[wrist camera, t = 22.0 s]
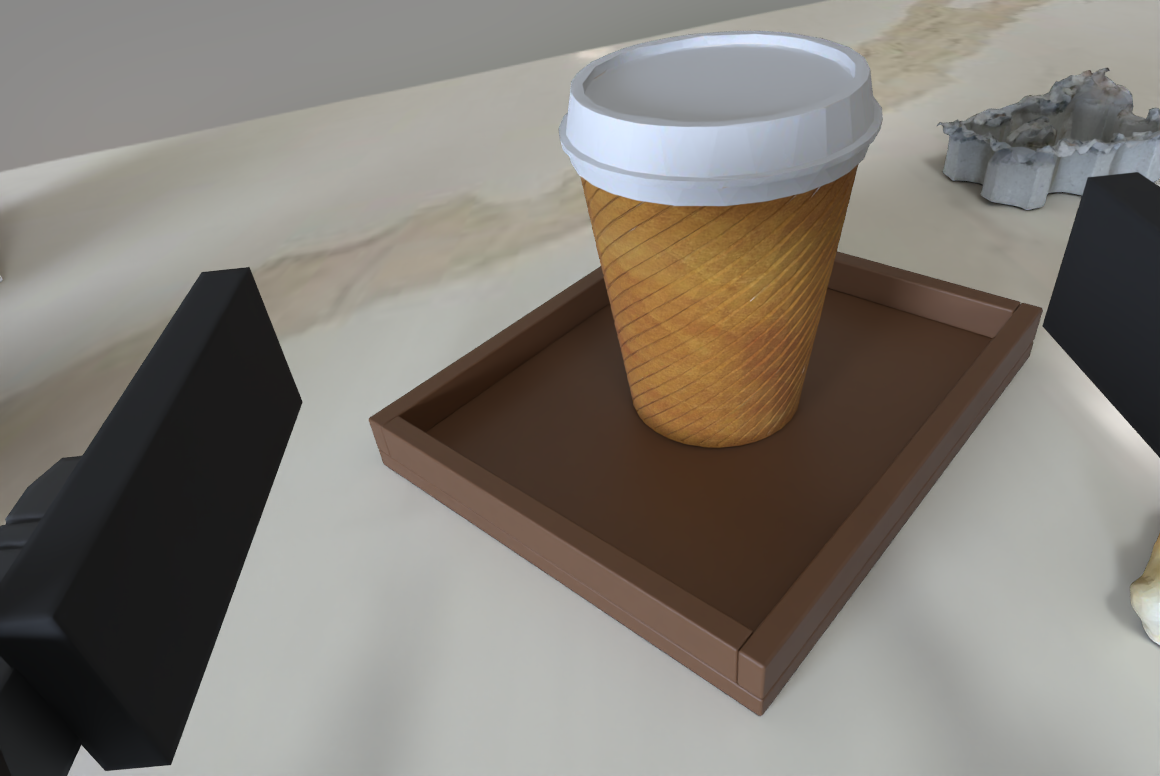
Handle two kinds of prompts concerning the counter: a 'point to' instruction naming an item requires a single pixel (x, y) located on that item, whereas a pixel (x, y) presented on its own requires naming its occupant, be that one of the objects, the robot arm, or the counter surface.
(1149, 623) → the pastry
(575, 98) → the disposable coffee cup
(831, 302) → the serving tray
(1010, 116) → the egg carton
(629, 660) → the counter surface
